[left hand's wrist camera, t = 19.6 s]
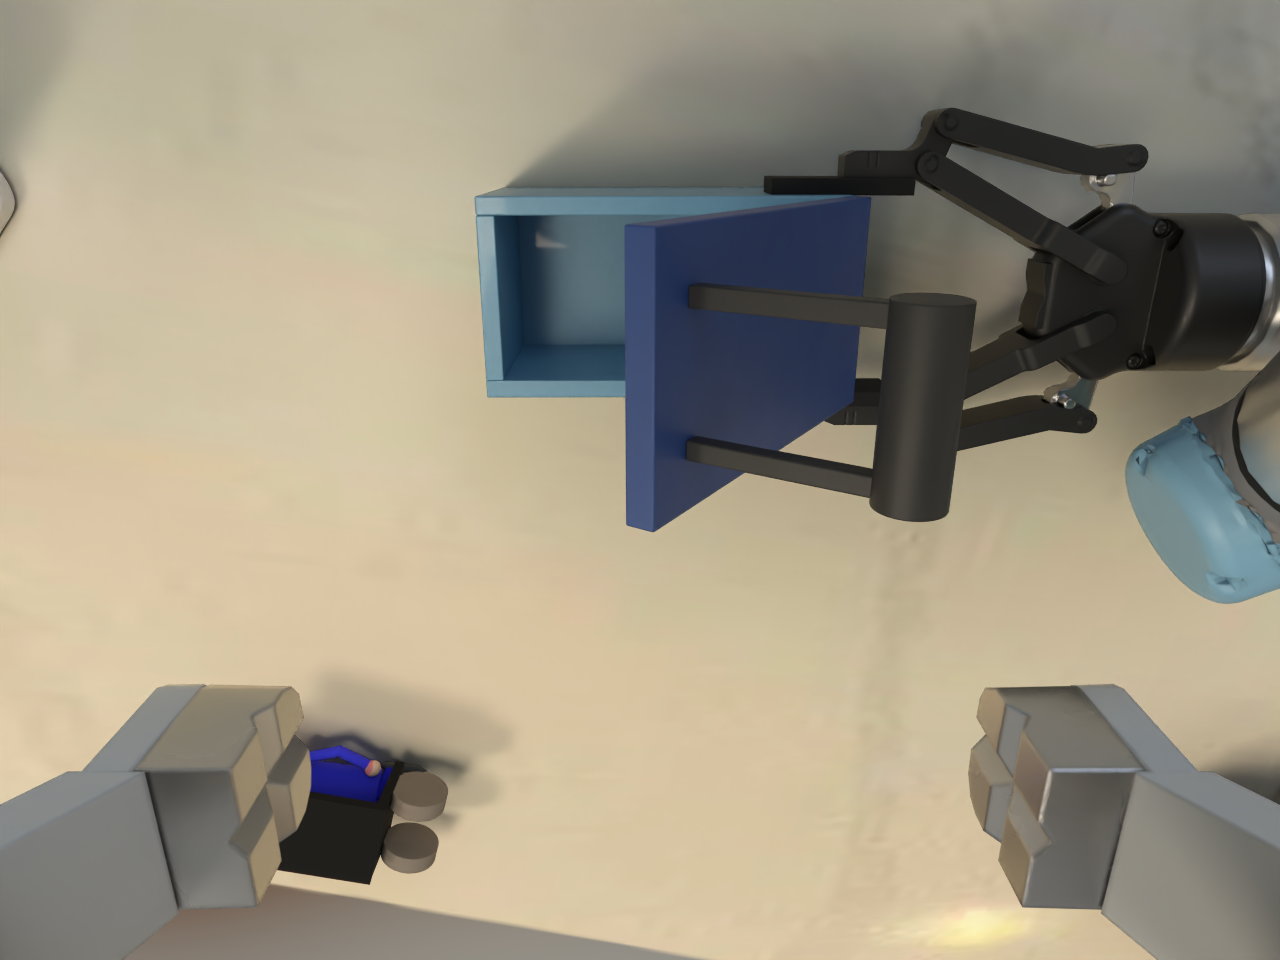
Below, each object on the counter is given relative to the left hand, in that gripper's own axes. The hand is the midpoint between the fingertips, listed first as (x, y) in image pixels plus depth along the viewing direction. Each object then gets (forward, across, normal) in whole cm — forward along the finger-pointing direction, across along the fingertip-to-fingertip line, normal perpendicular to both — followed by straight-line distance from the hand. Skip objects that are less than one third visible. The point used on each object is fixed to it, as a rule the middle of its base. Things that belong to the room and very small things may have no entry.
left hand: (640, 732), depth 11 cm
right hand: (+35, -6, 0) cm, 35 cm away
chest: (+42, -1, 0) cm, 42 cm away
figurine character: (+42, +20, +34) cm, 57 cm away
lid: (+25, -4, 0) cm, 25 cm away
